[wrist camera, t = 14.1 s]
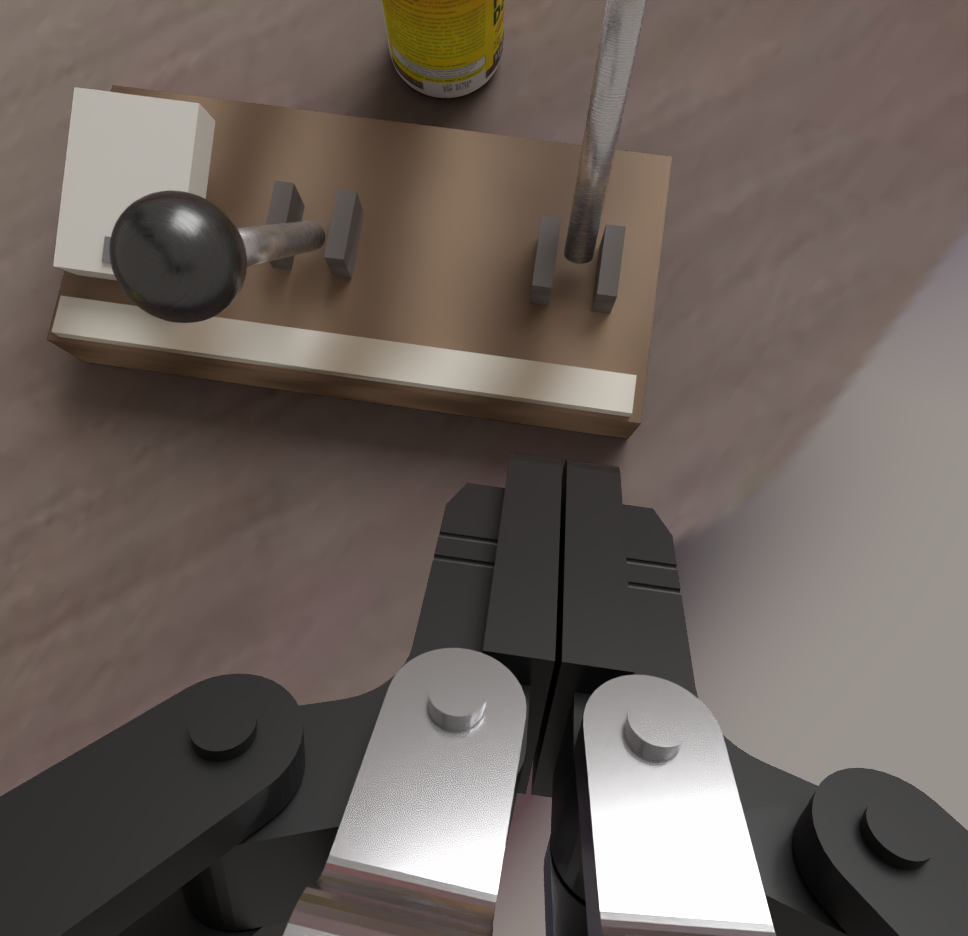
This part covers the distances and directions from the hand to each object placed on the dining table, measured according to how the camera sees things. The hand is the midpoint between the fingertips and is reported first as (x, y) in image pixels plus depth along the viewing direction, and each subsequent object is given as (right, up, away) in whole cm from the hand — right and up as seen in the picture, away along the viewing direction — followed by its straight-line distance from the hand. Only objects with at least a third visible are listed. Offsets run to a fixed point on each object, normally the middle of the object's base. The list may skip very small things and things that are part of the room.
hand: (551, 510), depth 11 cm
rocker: (-15, +12, +20) cm, 27 cm away
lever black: (-8, +10, +21) cm, 25 cm away
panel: (-6, +9, +25) cm, 27 cm away
